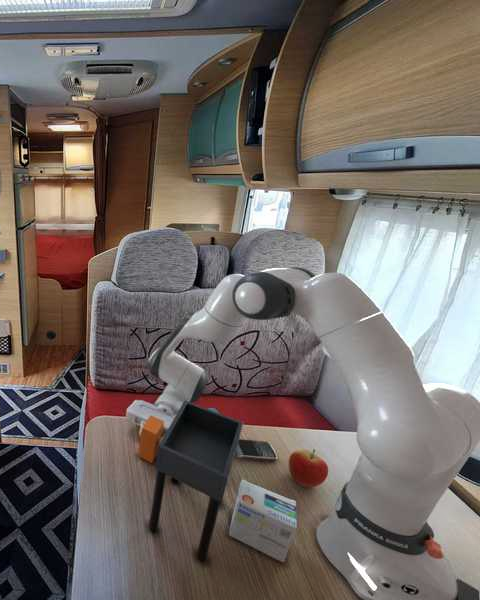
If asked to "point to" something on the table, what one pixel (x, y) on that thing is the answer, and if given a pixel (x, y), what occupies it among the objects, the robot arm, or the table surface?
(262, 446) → the cell phone
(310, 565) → the table surface
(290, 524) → the light bulb box
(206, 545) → the stand
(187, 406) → the dark gray open bin
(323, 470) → the apple
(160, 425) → the block
